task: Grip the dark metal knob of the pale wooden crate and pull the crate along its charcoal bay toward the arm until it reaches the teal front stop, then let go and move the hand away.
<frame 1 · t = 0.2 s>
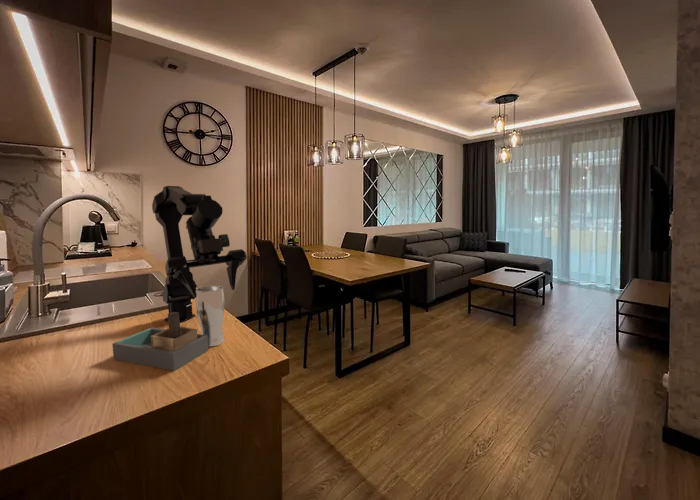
hand: (215, 293, 83), 15 cm above the worktop, tool tilted 30°, fingers open, 9 cm apart
beer glass: (212, 342, 90), on the worktop
crate: (174, 333, 80), point 6 cm above the worktop, slide at 0.0 cm
bay: (162, 354, 82), on the worktop
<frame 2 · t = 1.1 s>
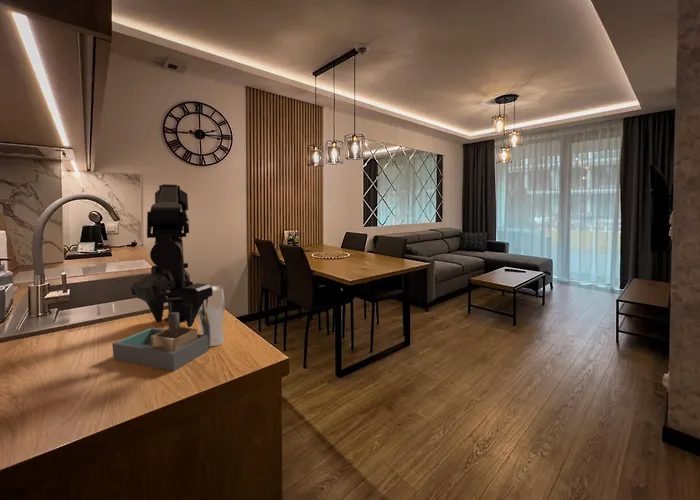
hand: (174, 324, 80), 8 cm above the worktop, tool pointing down, fingers open, 9 cm apart
nothing on the worktop moved.
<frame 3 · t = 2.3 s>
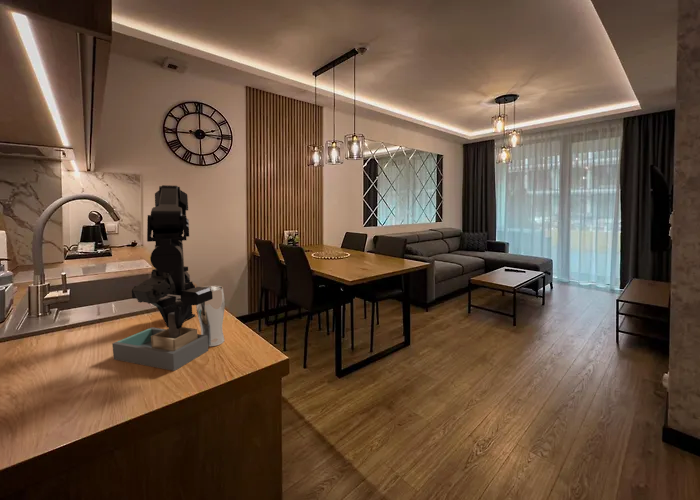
hand: (174, 327, 80), 8 cm above the worktop, tool pointing down, fingers closed on crate, 2 cm apart
crate: (174, 333, 80), point 6 cm above the worktop, slide at 0.0 cm, touching gripper
everything else where it was.
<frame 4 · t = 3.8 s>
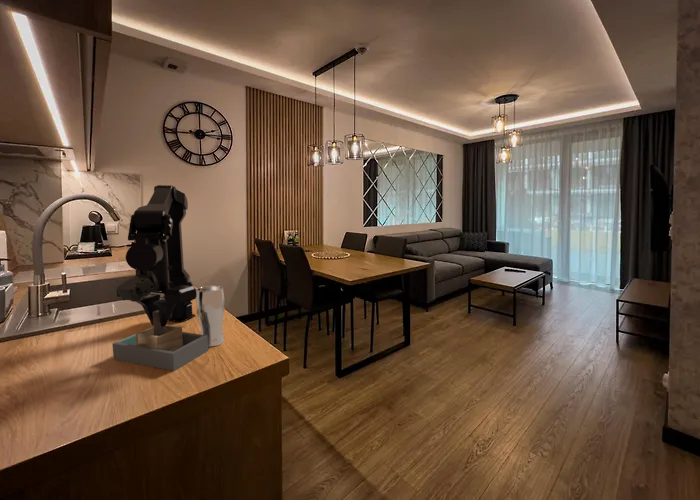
hand: (159, 325, 81), 8 cm above the worktop, tool pointing down, fingers closed on crate, 2 cm apart
crate: (159, 330, 82), point 6 cm above the worktop, slide at 4.7 cm, touching gripper
everything else where it was.
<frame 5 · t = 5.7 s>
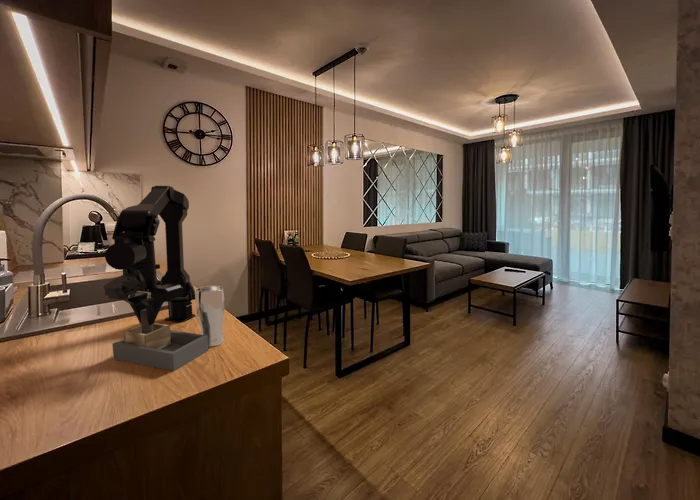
hand: (146, 323, 83), 7 cm above the worktop, tool pointing down, fingers closed on crate, 2 cm apart
crate: (147, 329, 83), point 6 cm above the worktop, slide at 8.4 cm, touching gripper
everything else where it was.
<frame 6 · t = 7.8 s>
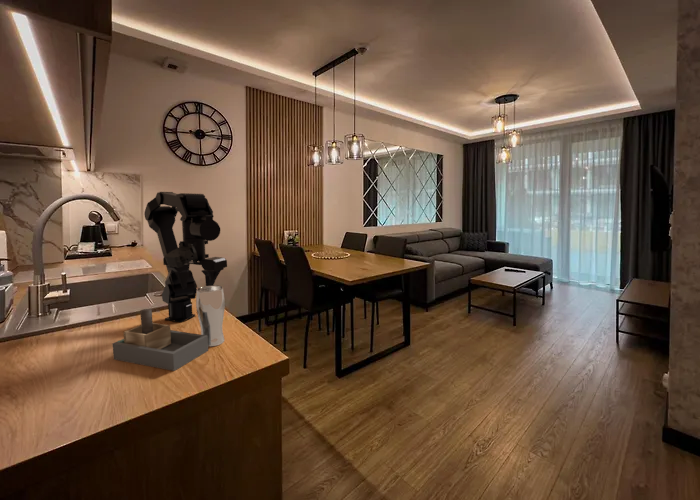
hand: (196, 290, 98), 12 cm above the worktop, tool pointing down, fingers open, 9 cm apart
crate: (147, 329, 83), point 6 cm above the worktop, slide at 8.4 cm
everything else where it was.
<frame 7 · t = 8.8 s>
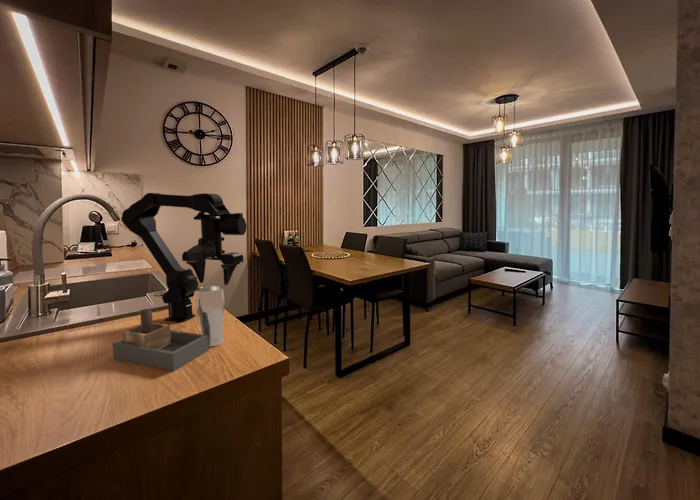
hand: (213, 283, 105), 12 cm above the worktop, tool pointing down, fingers open, 9 cm apart
nothing on the worktop moved.
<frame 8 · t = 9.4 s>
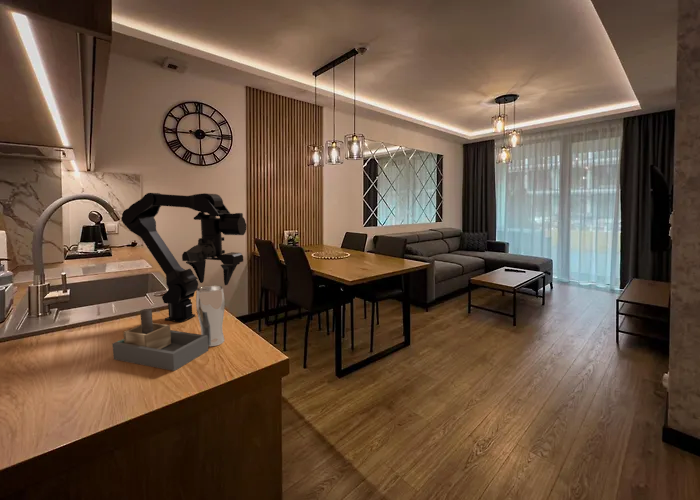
hand: (213, 283, 105), 12 cm above the worktop, tool pointing down, fingers open, 9 cm apart
nothing on the worktop moved.
at the end: crate slide at 8.4 cm; the gripper is holding nothing; beer glass moved 0.2 cm from its start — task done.
